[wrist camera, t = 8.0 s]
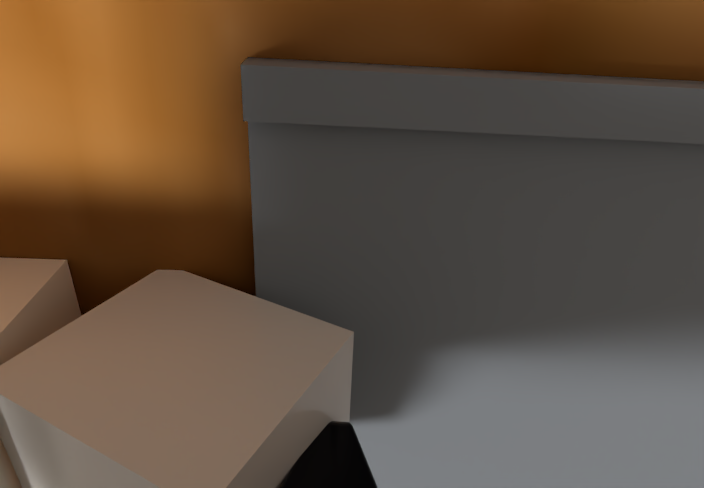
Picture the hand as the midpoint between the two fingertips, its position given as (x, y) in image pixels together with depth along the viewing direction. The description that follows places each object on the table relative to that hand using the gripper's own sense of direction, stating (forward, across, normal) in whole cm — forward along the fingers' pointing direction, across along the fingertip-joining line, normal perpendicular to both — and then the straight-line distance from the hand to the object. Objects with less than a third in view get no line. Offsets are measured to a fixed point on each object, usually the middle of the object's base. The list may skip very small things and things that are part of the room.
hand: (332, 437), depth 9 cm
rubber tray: (+2, -4, 0) cm, 5 cm away
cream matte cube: (+1, +2, 0) cm, 2 cm away
